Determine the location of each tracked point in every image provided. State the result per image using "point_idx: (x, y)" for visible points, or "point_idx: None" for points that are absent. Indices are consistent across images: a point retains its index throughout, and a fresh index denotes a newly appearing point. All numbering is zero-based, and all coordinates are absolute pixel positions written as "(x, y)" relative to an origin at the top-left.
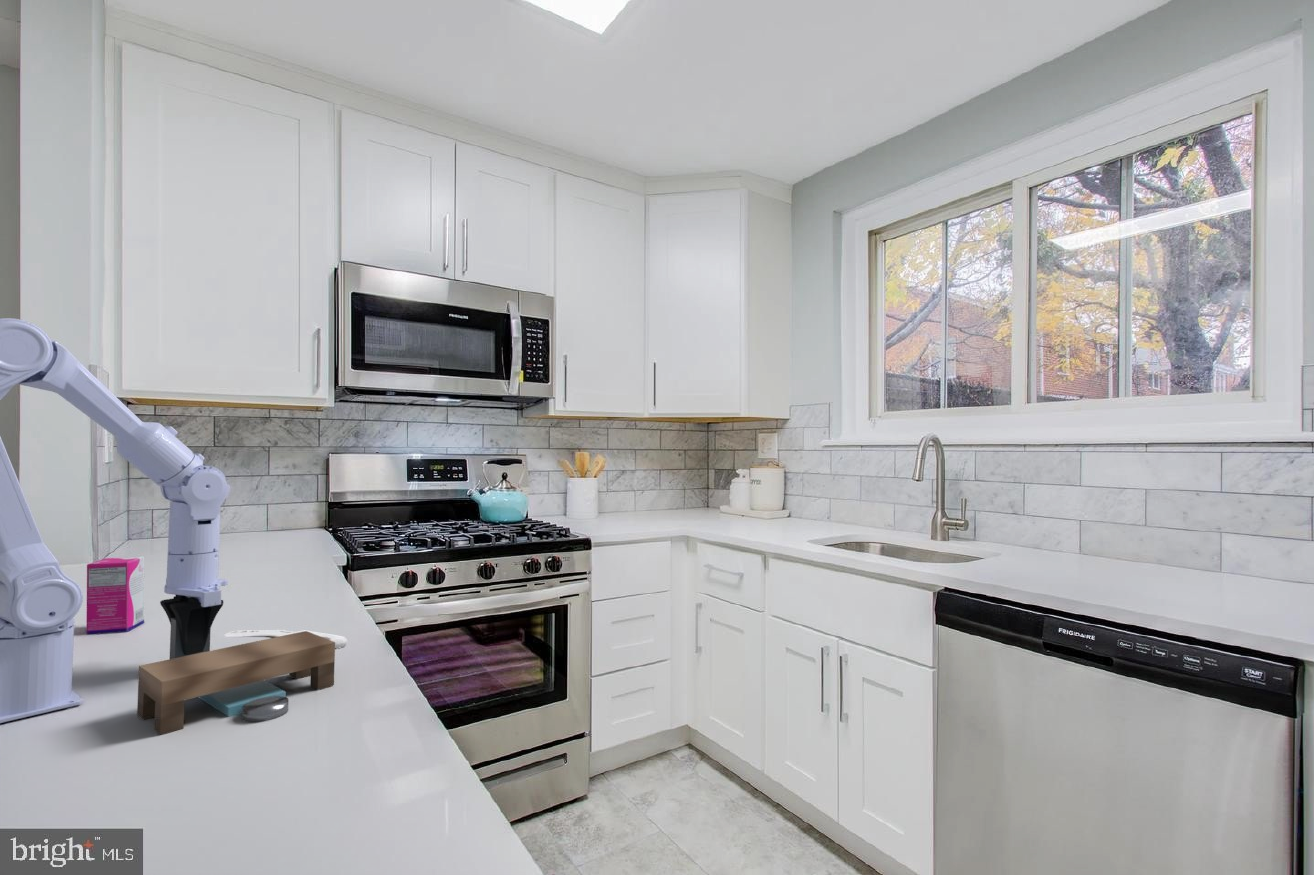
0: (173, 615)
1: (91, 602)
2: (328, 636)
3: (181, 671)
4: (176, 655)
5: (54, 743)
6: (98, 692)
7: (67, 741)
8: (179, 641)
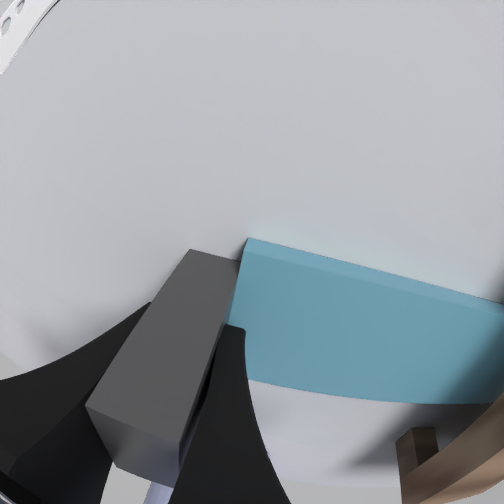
0: (106, 467)
1: None
2: None
3: (486, 484)
4: None
5: (370, 477)
6: None
7: (379, 473)
8: None
